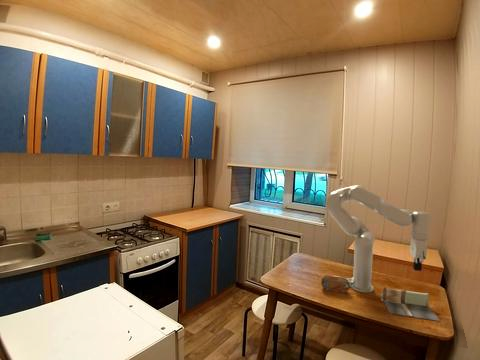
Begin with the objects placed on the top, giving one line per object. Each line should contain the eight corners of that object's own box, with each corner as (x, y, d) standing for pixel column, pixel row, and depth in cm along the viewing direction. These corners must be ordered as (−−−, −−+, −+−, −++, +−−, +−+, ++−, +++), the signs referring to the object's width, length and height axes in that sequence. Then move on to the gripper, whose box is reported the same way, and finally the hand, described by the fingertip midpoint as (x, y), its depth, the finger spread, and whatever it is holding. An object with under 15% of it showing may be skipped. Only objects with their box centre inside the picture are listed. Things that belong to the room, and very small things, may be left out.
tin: (321, 289, 153) (321, 274, 152) (321, 286, 156) (322, 272, 155) (349, 294, 148) (350, 279, 147) (349, 291, 151) (350, 277, 150)
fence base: (386, 313, 130) (387, 299, 130) (378, 293, 148) (379, 281, 148) (439, 321, 124) (441, 307, 123) (424, 300, 142) (425, 287, 142)
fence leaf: (406, 303, 138) (406, 291, 137) (405, 301, 139) (406, 290, 139) (428, 306, 135) (429, 294, 134) (427, 305, 136) (428, 293, 136)
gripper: (406, 231, 147) (404, 263, 148) (416, 239, 132) (414, 275, 134) (422, 232, 145) (420, 265, 146) (434, 240, 130) (431, 277, 132)
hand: (417, 269), depth 140 cm, fingers closed
